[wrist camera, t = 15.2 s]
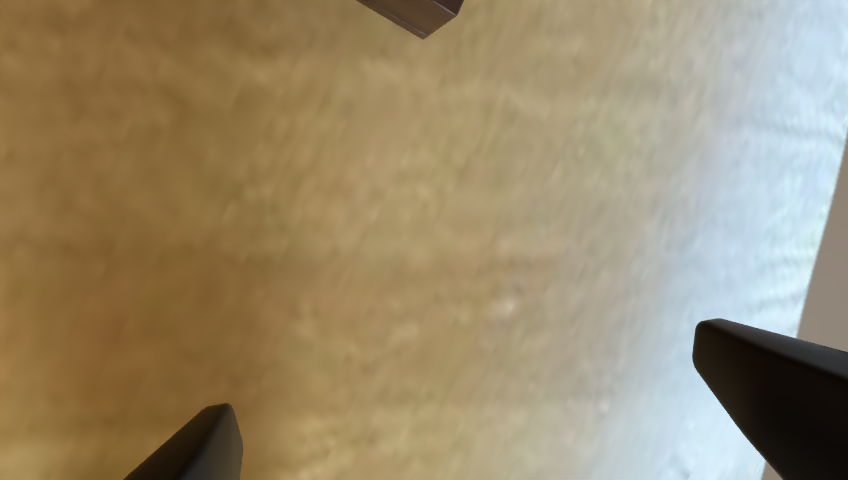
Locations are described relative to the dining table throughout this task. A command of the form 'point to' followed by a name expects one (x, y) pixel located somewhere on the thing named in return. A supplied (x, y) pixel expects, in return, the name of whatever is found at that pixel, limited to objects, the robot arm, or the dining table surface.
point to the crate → (417, 13)
